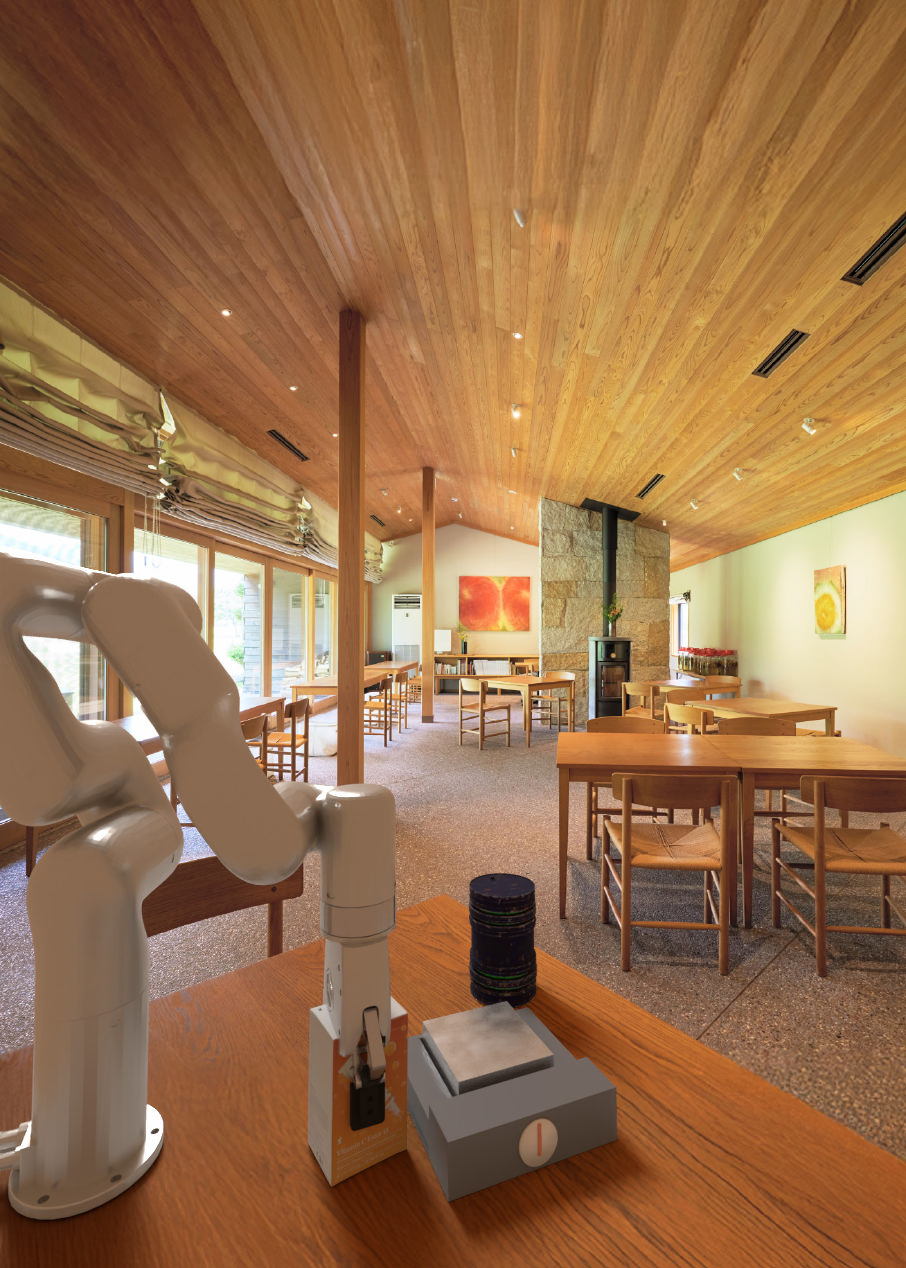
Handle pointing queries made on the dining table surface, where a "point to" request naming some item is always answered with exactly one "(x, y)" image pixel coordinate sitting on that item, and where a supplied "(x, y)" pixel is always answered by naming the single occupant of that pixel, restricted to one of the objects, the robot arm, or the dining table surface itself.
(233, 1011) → the dining table surface
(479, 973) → the navy cylindrical canister
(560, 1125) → the scale
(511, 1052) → the pan
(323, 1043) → the small box
